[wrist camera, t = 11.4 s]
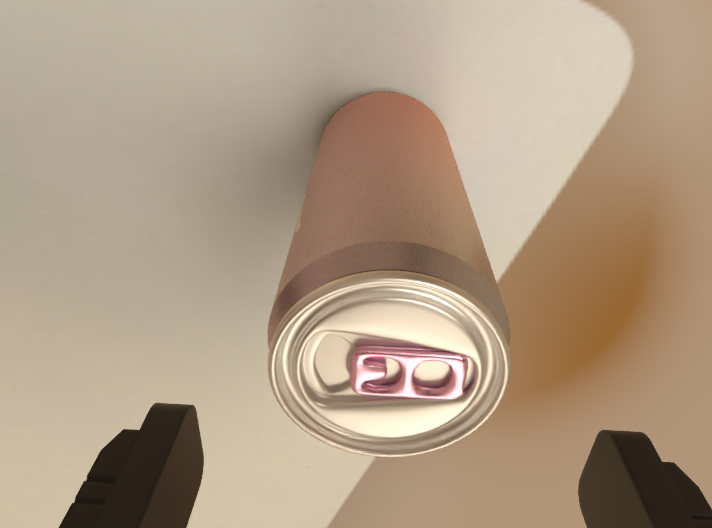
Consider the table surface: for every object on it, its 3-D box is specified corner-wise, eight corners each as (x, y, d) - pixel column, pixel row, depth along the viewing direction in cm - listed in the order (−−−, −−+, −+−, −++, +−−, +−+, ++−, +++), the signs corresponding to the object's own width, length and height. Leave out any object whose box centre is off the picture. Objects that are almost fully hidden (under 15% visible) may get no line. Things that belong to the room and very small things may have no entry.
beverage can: (439, 213, 27) (494, 470, 14) (320, 206, 27) (265, 456, 14) (456, 91, 23) (548, 277, 11) (321, 84, 23) (251, 261, 11)
